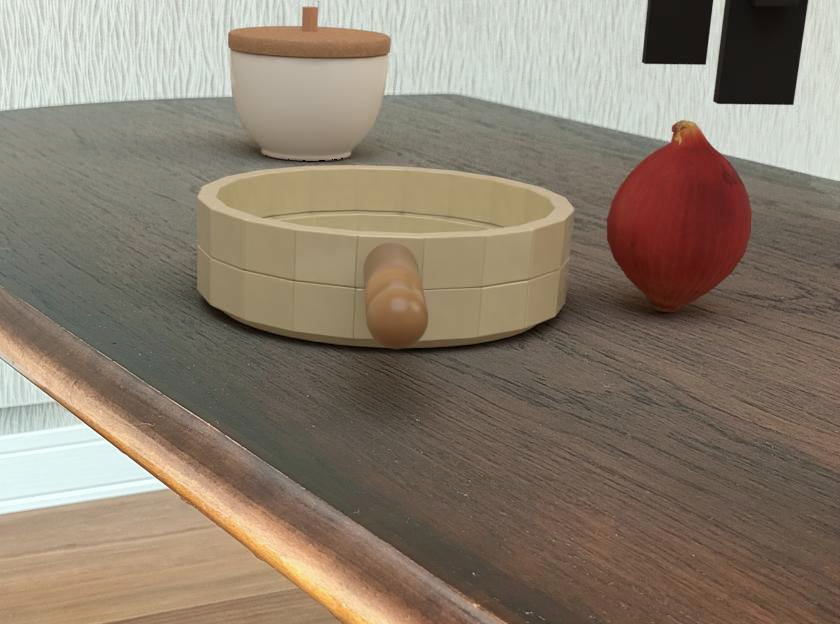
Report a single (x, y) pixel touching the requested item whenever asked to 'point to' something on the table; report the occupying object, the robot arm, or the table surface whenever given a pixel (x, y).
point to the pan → (372, 226)
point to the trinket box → (307, 86)
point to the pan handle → (394, 296)
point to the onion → (680, 220)
